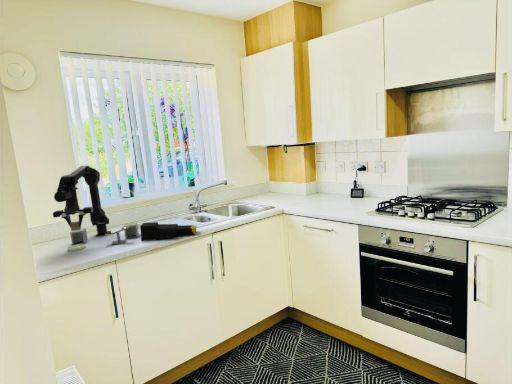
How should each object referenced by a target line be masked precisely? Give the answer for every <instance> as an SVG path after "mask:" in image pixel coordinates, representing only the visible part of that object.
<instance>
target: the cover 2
mask: <svg viewBox="0 0 512 384" xmlns="http://www.w3.org/2000/svg"><path fill="white" fill-rule="evenodd" d="M126 226H129V227H130V228H128V229H125V230H123V231H124V239H125V240H127V239H128V237H131V236H136V238H139V235H140V233H139V227H138V226H139V225H138V222H130V223H125V224H124V225H123V227H126Z"/></svg>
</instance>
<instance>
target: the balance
mask: <svg viewBox="0 0 512 384" xmlns="http://www.w3.org/2000/svg"><path fill="white" fill-rule="evenodd" d="M128 228H130V227H129V226H126V227H124V226H122V227H121V228H120V229H119V230H117V231H115V232H112V230H107V234H105V235H104V236H113V235H115V234H116V240H114V241H112V243H111V246H115V245H123V244H124V245H125V244H126V242H127V239H121V236H120V232H122V231H124V230H125V229H128Z"/></svg>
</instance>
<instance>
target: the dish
mask: <svg viewBox="0 0 512 384" xmlns="http://www.w3.org/2000/svg"><path fill="white" fill-rule="evenodd" d="M86 247H87V245H86V243H78V244H74V245H70V246H67V248H66V250H67V252H77V251H81V250H83V249H85V248H86Z"/></svg>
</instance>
